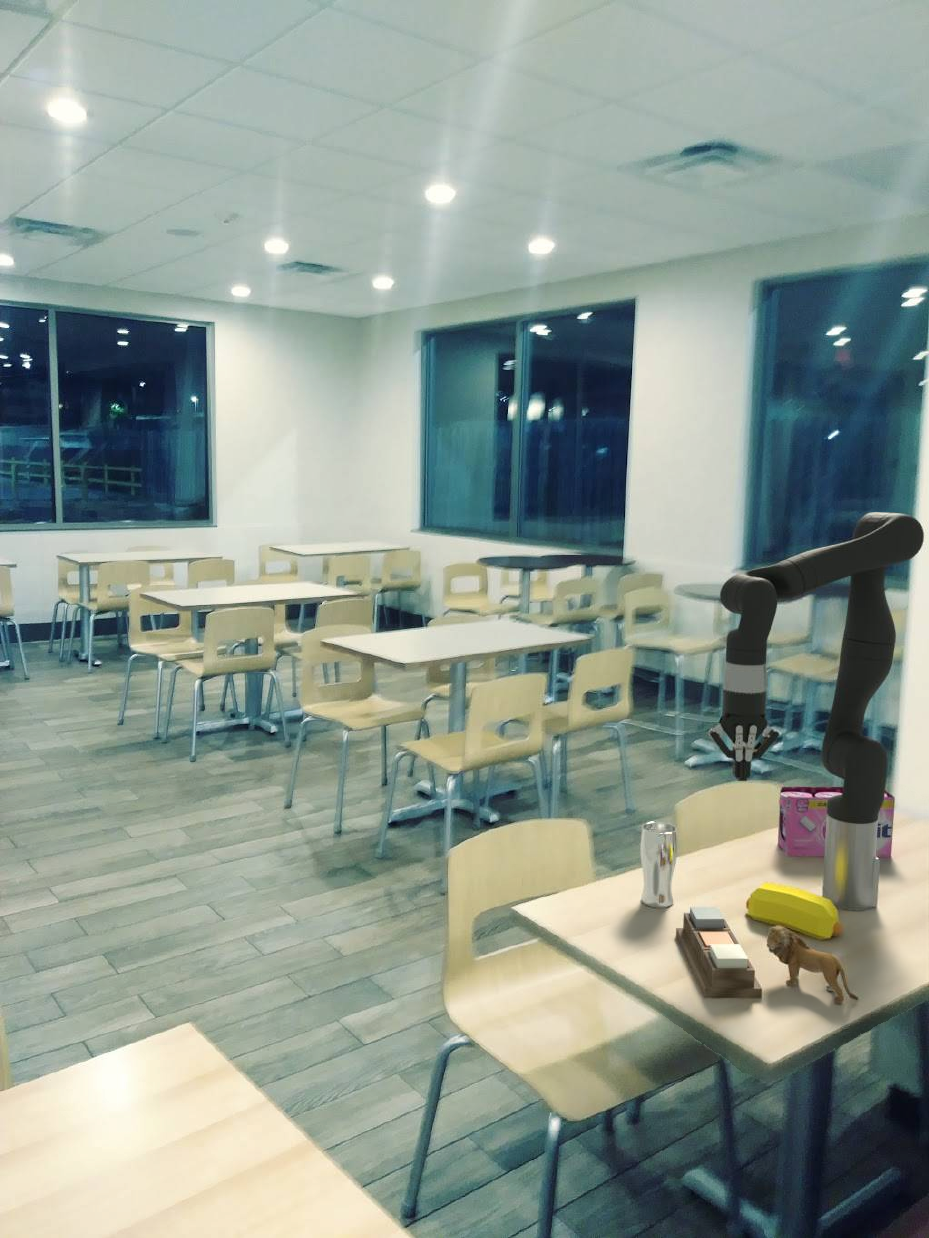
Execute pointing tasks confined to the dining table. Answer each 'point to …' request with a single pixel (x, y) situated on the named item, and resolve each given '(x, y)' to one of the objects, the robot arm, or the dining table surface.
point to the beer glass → (658, 863)
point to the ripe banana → (794, 910)
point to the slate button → (706, 917)
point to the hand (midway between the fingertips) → (741, 779)
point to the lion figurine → (806, 960)
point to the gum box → (821, 821)
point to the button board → (706, 974)
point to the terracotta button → (715, 938)
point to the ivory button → (728, 956)
